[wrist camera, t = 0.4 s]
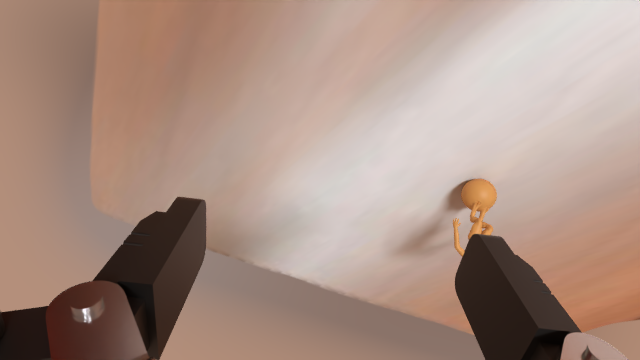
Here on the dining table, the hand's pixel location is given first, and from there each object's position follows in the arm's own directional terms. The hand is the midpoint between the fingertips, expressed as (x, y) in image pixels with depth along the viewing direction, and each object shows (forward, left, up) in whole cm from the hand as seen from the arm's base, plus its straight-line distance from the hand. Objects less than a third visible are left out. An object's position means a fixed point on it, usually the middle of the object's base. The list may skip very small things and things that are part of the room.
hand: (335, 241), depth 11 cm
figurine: (+29, +4, -28) cm, 41 cm away
